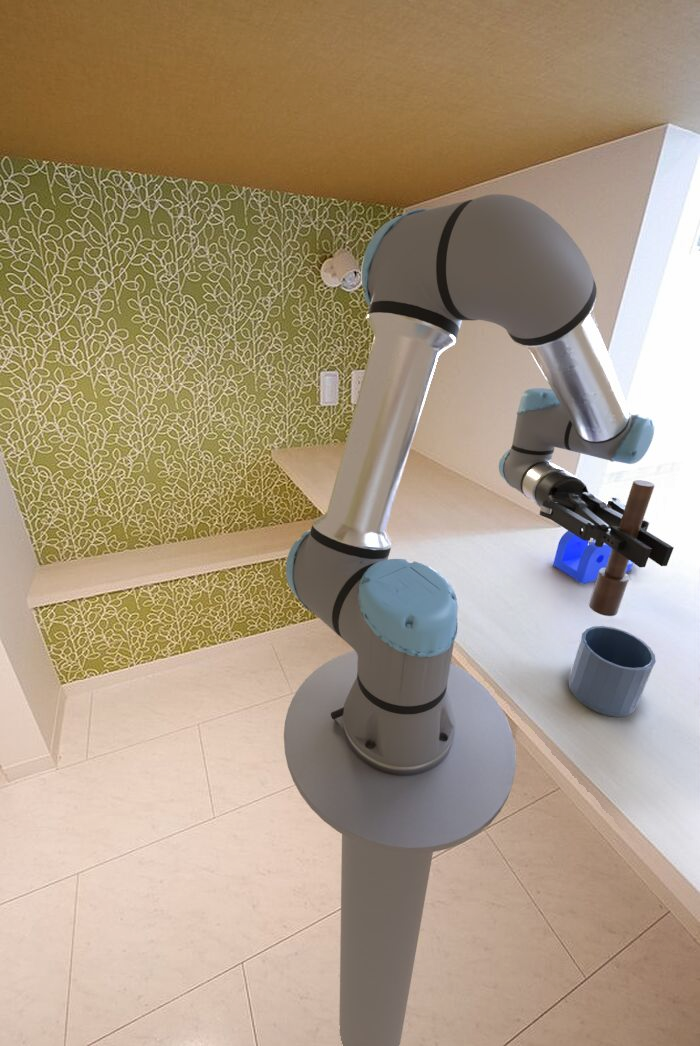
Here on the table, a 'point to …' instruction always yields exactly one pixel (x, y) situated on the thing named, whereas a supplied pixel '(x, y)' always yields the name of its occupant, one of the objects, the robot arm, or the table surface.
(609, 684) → the blue faceted pencil cup
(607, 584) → the muddler
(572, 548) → the bracket
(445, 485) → the table surface
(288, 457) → the table surface
